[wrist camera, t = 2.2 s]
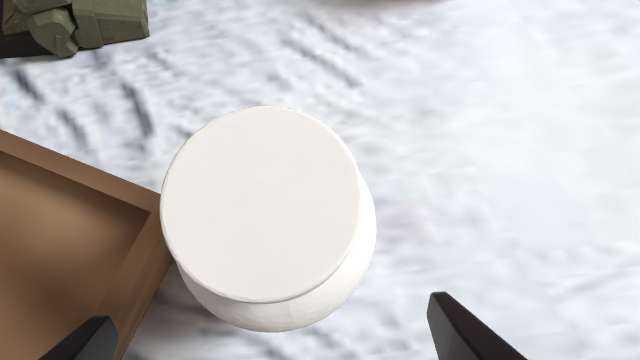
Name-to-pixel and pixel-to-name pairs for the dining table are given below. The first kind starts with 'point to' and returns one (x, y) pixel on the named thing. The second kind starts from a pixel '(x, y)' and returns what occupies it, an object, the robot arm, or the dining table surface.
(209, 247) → the supplement bottle
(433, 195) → the dining table surface
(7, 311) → the walnut tray
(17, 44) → the mechanical leg
